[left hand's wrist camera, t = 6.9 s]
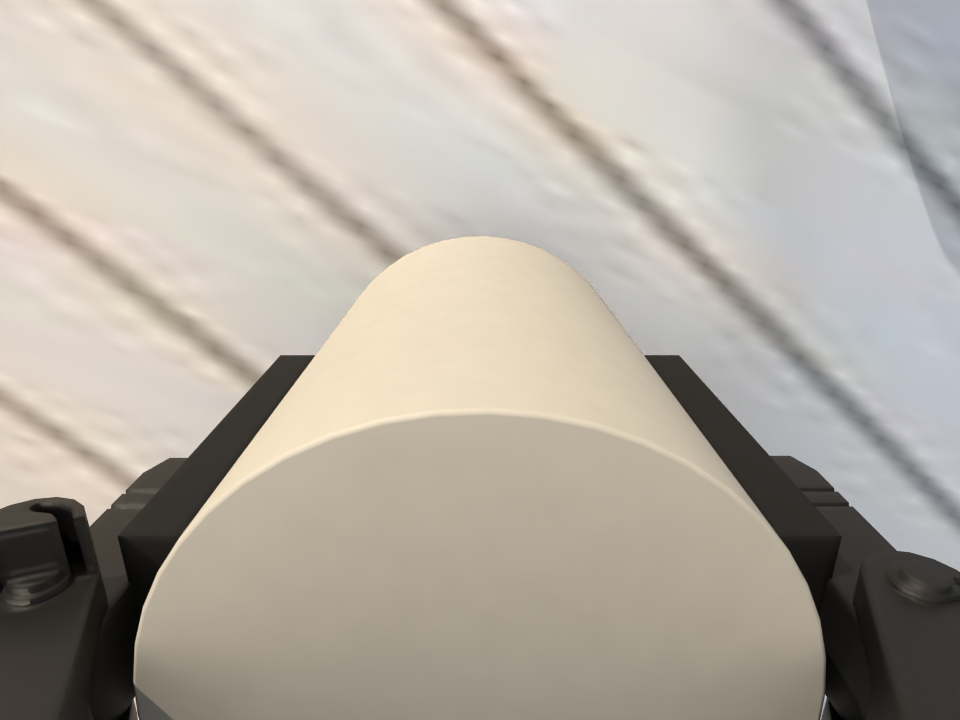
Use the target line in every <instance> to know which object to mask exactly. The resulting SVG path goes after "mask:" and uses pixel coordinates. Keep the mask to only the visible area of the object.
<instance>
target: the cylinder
mask: <svg viewBox="0 0 960 720" xmlns="http://www.w3.org/2000/svg"><path fill="white" fill-rule="evenodd" d="M825 680H826V654H825V648H824V642H823V635H822V629H821V623H820V618H819V615H818V612H817V609H816V606H815V604H814V601H813V598H812V595H811V592H810V589H809V586H808V584H807V582H806V580H805V578H804V577H803V575H802V573H801V571H800V569H799V568H798V566H797V564H796V562H795V560H794V559H793V557H792V555H791V553H790V551H789V550H788V548H787V547H786V546H785V544H784V543H783V542H782V540H781V539H780V538H779V536H778V535H777V534H776V532H775V531H774V529H773V528H772V527H771V525H770V524H769V523H768V521H767V520H766V519H765V517H764V516H763V515H762V513H761V512H760V511H759V509H758V508H757V507H756V505H755V504H754V503H753V501H752V500H751V499H750V497H749V496H748V495H747V493H746V492H745V491H744V489H743V488H742V486H741V485H740V484H739V482H738V481H737V480H736V478H735V477H734V476H733V474H732V473H731V472H730V470H729V469H728V468H727V466H726V465H725V464H724V462H723V461H722V460H721V458H720V457H719V456H718V454H717V453H716V452H715V450H714V449H713V448H712V446H711V445H710V443H709V442H708V441H707V439H706V438H705V437H704V435H703V434H702V433H701V431H700V430H699V429H698V427H697V426H696V425H695V423H694V422H693V421H692V419H691V418H690V417H689V415H688V414H687V413H686V411H685V410H684V409H683V407H682V406H681V405H680V403H679V402H678V400H677V399H676V398H675V396H674V395H673V394H672V392H671V391H670V390H669V388H668V387H667V386H666V384H665V383H664V382H663V380H662V379H661V378H660V376H659V375H658V374H657V372H656V371H655V370H654V368H653V367H652V366H651V364H650V363H649V362H648V360H647V359H646V357H645V356H644V355H643V353H642V352H641V351H640V349H639V348H638V347H637V345H636V344H635V343H634V341H633V340H632V339H631V337H630V336H629V335H628V333H627V332H626V331H625V329H624V328H623V327H622V325H621V324H620V323H619V321H618V320H617V318H616V317H615V316H614V314H613V313H612V312H611V310H610V309H609V308H608V306H607V305H606V304H605V302H604V301H603V300H602V298H601V297H600V296H599V295H598V293H597V292H596V291H595V289H594V288H593V287H592V286H591V284H590V283H589V282H588V281H587V280H586V279H585V278H583V277H582V276H581V275H580V274H579V273H578V272H577V271H576V270H575V269H573V268H572V267H571V266H569V265H568V264H567V263H565V262H564V261H562V260H561V259H559V258H558V257H556V256H554V255H552V254H550V253H548V252H546V251H544V250H543V249H540V248H537V247H535V246H532V245H529V244H526V243H524V242H519V241H515V240H511V239H506V238H498V237H487V236H475V237H460V238H455V239H449V240H443V241H440V242H437V243H434V244H431V245H428V246H424V247H422V248H420V249H418V250H416V251H414V252H412V253H409V254H407V255H405V256H404V257H402V258H401V259H399V260H398V261H396V262H395V263H393V264H391V265H390V266H389V267H387V268H386V269H385V270H384V271H383V272H382V273H381V274H379V275H378V276H377V277H376V278H375V279H374V280H373V281H372V282H371V283H370V284H369V286H368V287H367V288H366V289H365V290H364V291H363V293H362V294H361V295H360V296H359V298H358V299H357V300H356V302H355V303H354V304H353V306H352V307H351V309H350V310H349V311H348V313H347V314H346V315H345V317H344V318H343V319H342V321H341V322H340V323H339V325H338V326H337V327H336V329H335V330H334V331H333V333H332V334H331V335H330V337H329V338H328V339H327V341H326V342H325V343H324V345H323V346H322V347H321V349H320V350H319V351H318V353H317V354H316V355H315V357H314V358H313V359H312V361H311V362H310V363H309V365H308V366H307V367H306V369H305V370H304V372H303V373H302V374H301V376H300V377H299V378H298V380H297V381H296V382H295V384H294V385H293V386H292V388H291V389H290V390H289V392H288V393H287V394H286V396H285V397H284V398H283V400H282V401H281V402H280V404H279V405H278V406H277V408H276V409H275V410H274V412H273V413H272V414H271V416H270V417H269V418H268V420H267V421H266V422H265V424H264V425H263V426H262V428H261V429H260V430H259V432H258V433H257V435H256V436H255V437H254V439H253V440H252V441H251V443H250V444H249V445H248V447H247V448H246V449H245V451H244V452H243V453H242V455H241V456H240V457H239V459H238V460H237V461H236V463H235V464H234V465H233V467H232V468H231V469H230V471H229V472H228V473H227V475H226V476H225V477H224V479H223V480H222V481H221V483H220V484H219V485H218V487H217V488H216V489H215V491H214V492H213V493H212V495H211V496H210V498H209V499H208V500H207V502H206V503H205V504H204V506H203V507H202V508H201V510H200V511H199V512H198V514H197V515H196V516H195V518H194V519H193V520H192V522H191V523H190V524H189V526H188V527H187V528H186V530H185V531H184V532H183V534H182V535H181V536H180V538H179V539H178V541H177V542H176V544H175V545H174V547H173V549H172V550H171V552H170V553H169V555H168V557H167V558H166V560H165V561H164V563H163V564H162V566H161V568H160V569H159V571H158V572H157V575H156V577H155V579H154V582H153V584H152V587H151V589H150V591H149V594H148V596H147V599H146V601H145V603H144V606H143V609H142V614H141V618H140V623H139V627H138V632H137V636H136V641H135V651H134V676H133V682H134V690H135V697H136V704H137V712H138V717H139V720H820V717H821V712H822V707H823V702H824V697H825Z"/></svg>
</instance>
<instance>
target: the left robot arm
mask: <svg viewBox="0 0 960 720" xmlns="http://www.w3.org/2000/svg"><path fill="white" fill-rule="evenodd" d="M314 357H315V355H281V356H280V357H279V358H278V359H277V360H276V361H275V362H274V363H273V364H272V366H271V367H270V368H269V369H268V370H267V371H266V372H265V373H264V374H263V375H262V377H261V378H260V379H259V380H258V381H257V382H256V383H255V384H254V385H253V387H252V388H251V389H250V390H249V391H248V392H247V393H246V394H245V395H244V397H243V398H242V399H241V400H240V401H239V402H238V403H237V404H236V405H235V407H234V408H233V409H232V410H231V411H230V412H229V413H228V414H227V415H226V417H225V418H224V419H223V420H222V421H221V422H220V423H219V424H218V425H217V426H216V428H215V429H214V430H213V431H212V432H211V433H210V434H209V435H208V436H207V438H206V439H205V440H204V441H203V442H202V443H201V444H200V445H199V446H198V448H197V449H196V450H195V451H194V452H193V453H192V454H191V455H190V456H189V458H169V459H167V460H165V461H164V462H162V463H160V464H158V465H157V466H155V467H153V468H151V469H150V470H148V471H146V472H144V473H143V474H142V475H141V476H140V477H139V478H138V479H137V480H136V481H135V482H134V483H133V484H132V485H131V486H130V487H129V488H128V489H127V490H126V494H122V495H121V496H120V497H119V498H118V499H117V500H116V501H115V502H114V503H113V504H112V505H111V509H107V510H106V511H105V512H104V513H103V514H102V515H101V516H100V517H99V518H98V519H97V520H96V521H95V522H94V523H93V524H92V525H91V526H90V527H89V524H88V520H87V516H86V512H85V508H84V506H83V505H82V504H80V503H79V502H77V501H76V500H74V499H67V498H60V497H53V498H42V499H33V500H29V501H25V502H21V503H17V504H13V505H10V506H7V507H5V508H2V509H0V720H138V718H137V711H136V707H135V704H134V700H133V699H134V697H135V690H134V682H133V676H134V651H135V641H136V636H137V632H138V627H139V623H140V618H141V614H142V609H143V606H144V603H145V601H146V599H147V596H148V594H149V591H150V589H151V587H152V584H153V582H154V579H155V577H156V575H157V572H158V571H159V569H160V568H161V566H162V564H163V563H164V561H165V560H166V558H167V557H168V555H169V553H170V552H171V550H172V549H173V547H174V545H175V544H176V542H177V541H178V539H179V538H180V536H181V535H182V534H183V532H184V531H185V530H186V528H187V527H188V526H189V524H190V523H191V522H192V520H193V519H194V518H195V516H196V515H197V514H198V512H199V511H200V510H201V508H202V507H203V506H204V504H205V503H206V502H207V500H208V499H209V498H210V496H211V495H212V493H213V492H214V491H215V489H216V488H217V487H218V485H219V484H220V483H221V481H222V480H223V479H224V477H225V476H226V475H227V473H228V472H229V471H230V469H231V468H232V467H233V465H234V464H235V463H236V461H237V460H238V459H239V457H240V456H241V455H242V453H243V452H244V451H245V449H246V448H247V447H248V445H249V444H250V443H251V441H252V440H253V439H254V437H255V436H256V435H257V433H258V432H259V430H260V429H261V428H262V426H263V425H264V424H265V422H266V421H267V420H268V418H269V417H270V416H271V414H272V413H273V412H274V410H275V409H276V408H277V406H278V405H279V404H280V402H281V401H282V400H283V398H284V397H285V396H286V394H287V393H288V392H289V390H290V389H291V388H292V386H293V385H294V384H295V382H296V381H297V380H298V378H299V377H300V376H301V374H302V373H303V372H304V370H305V369H306V367H307V366H308V365H309V363H310V362H311V361H312V359H313V358H314ZM645 357H646V359H647V360H648V362H649V363H650V364H651V366H652V367H653V368H654V370H655V371H656V372H657V374H658V375H659V376H660V378H661V379H662V380H663V382H664V383H665V384H666V386H667V387H668V388H669V390H670V391H671V392H672V394H673V395H674V396H675V398H676V399H677V400H678V402H679V403H680V405H681V406H682V407H683V409H684V410H685V411H686V413H687V414H688V415H689V417H690V418H691V419H692V421H693V422H694V423H695V425H696V426H697V427H698V429H699V430H700V431H701V433H702V434H703V435H704V437H705V438H706V439H707V441H708V442H709V443H710V445H711V446H712V448H713V449H714V450H715V452H716V453H717V454H718V456H719V457H720V458H721V460H722V461H723V462H724V464H725V465H726V466H727V468H728V469H729V470H730V472H731V473H732V474H733V476H734V477H735V478H736V480H737V481H738V482H739V484H740V485H741V486H742V488H743V489H744V491H745V492H746V493H747V495H748V496H749V497H750V499H751V500H752V501H753V503H754V504H755V505H756V507H757V508H758V509H759V511H760V512H761V513H762V515H763V516H764V517H765V519H766V520H767V521H768V523H769V524H770V525H771V527H772V528H773V529H774V531H775V532H776V534H777V535H778V536H779V538H780V539H781V540H782V542H783V543H784V544H785V546H786V547H787V548H788V550H789V551H790V553H791V555H792V557H793V559H794V560H795V562H796V564H797V566H798V568H799V569H800V571H801V573H802V575H803V577H804V578H805V580H806V582H807V584H808V586H809V589H810V592H811V595H812V598H813V601H814V604H815V606H816V609H817V612H818V615H819V618H820V623H821V629H822V635H823V642H824V648H825V654H826V680H825V694H826V696H827V700H826V704H825V707H824V711H823V715H822V719H821V720H960V572H959V571H957V570H956V569H953V568H951V567H949V566H947V565H945V564H943V563H941V562H938V561H936V560H934V559H931V558H927V557H924V556H921V555H917V554H914V553H910V552H901V551H896V550H895V549H894V548H893V547H892V546H891V545H890V544H889V543H888V542H887V541H886V540H885V539H884V538H883V537H882V536H881V535H880V534H879V533H878V532H877V531H876V530H875V529H874V528H873V527H872V526H871V525H870V524H869V523H868V522H867V521H866V520H865V519H864V518H863V517H862V516H861V515H860V514H859V513H858V512H857V511H856V510H855V509H854V508H853V507H849V503H848V502H847V501H846V500H845V499H844V498H843V497H842V496H841V495H840V494H839V493H838V492H834V488H833V487H832V486H831V485H830V484H829V483H828V482H827V481H826V480H825V479H824V478H823V477H822V476H821V475H820V474H819V473H818V472H817V471H816V470H814V469H813V468H811V467H809V466H807V465H805V464H804V463H802V462H800V461H798V460H796V459H795V458H793V457H791V456H769V455H768V454H767V452H766V451H765V450H764V449H763V448H762V447H761V446H760V445H759V444H758V443H757V441H756V440H755V439H754V438H753V437H752V436H751V435H750V434H749V433H748V431H747V430H746V429H745V428H744V427H743V426H742V425H741V424H740V423H739V421H738V420H737V419H736V418H735V417H734V416H733V415H732V414H731V413H730V411H729V410H728V409H727V408H726V407H725V406H724V405H723V404H722V403H721V401H720V400H719V399H718V398H717V397H716V396H715V395H714V394H713V393H712V391H711V390H710V389H709V388H708V387H707V386H706V385H705V384H704V383H703V382H702V380H701V379H700V378H699V377H698V376H697V375H696V374H695V373H694V372H693V370H692V369H691V368H690V367H689V366H688V365H687V364H686V363H685V362H684V360H683V359H682V358H681V357H680V356H679V355H645Z"/></svg>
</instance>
